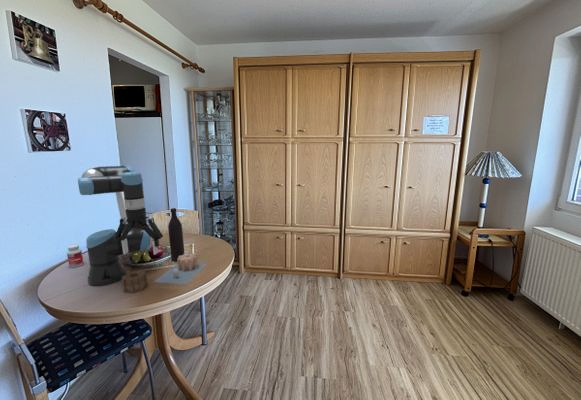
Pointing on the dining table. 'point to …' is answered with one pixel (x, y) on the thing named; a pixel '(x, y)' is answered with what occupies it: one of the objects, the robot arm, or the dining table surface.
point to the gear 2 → (187, 262)
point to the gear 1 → (134, 281)
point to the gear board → (179, 275)
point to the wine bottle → (175, 236)
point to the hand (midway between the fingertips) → (141, 253)
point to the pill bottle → (75, 256)
